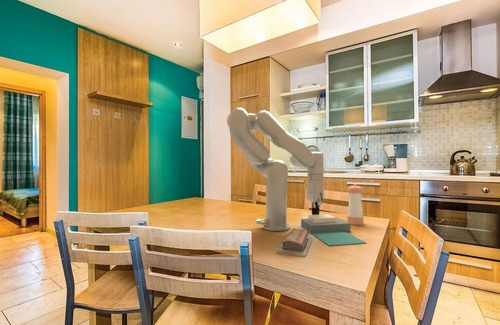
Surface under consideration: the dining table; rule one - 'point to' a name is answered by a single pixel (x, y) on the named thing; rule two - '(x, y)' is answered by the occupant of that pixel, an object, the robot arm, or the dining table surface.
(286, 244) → the packaged product
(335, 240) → the mat
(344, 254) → the dining table surface
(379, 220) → the dining table surface
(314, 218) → the cream flat block
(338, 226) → the block
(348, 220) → the pepper shaker
